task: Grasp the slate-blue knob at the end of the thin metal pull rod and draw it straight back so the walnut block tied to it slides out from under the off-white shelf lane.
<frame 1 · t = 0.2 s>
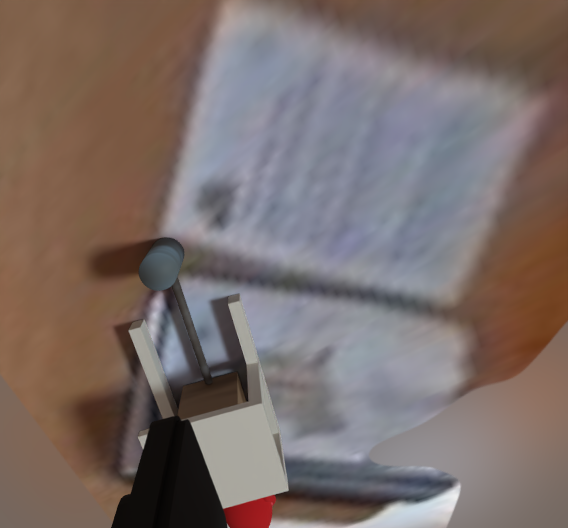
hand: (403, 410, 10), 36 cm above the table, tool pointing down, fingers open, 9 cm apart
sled: (195, 356, 45), point 3 cm above the table, slide at 0.0 cm
cap: (245, 480, 55), on the table
shelf: (208, 374, 50), on the table
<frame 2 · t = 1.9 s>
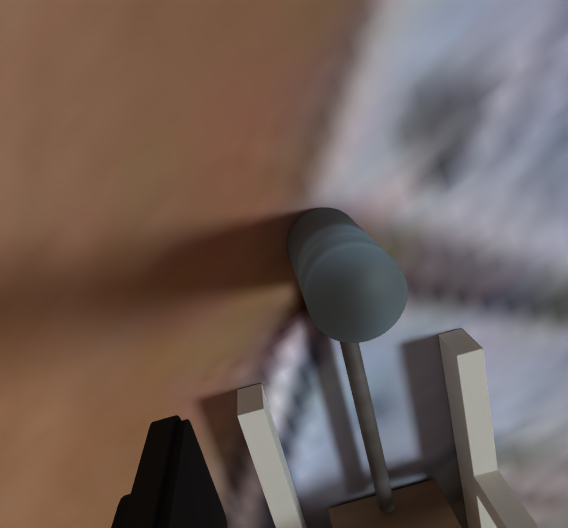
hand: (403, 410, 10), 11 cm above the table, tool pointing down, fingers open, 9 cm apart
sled: (383, 470, 21), point 3 cm above the table, slide at 0.0 cm
shelf: (379, 484, 25), on the table
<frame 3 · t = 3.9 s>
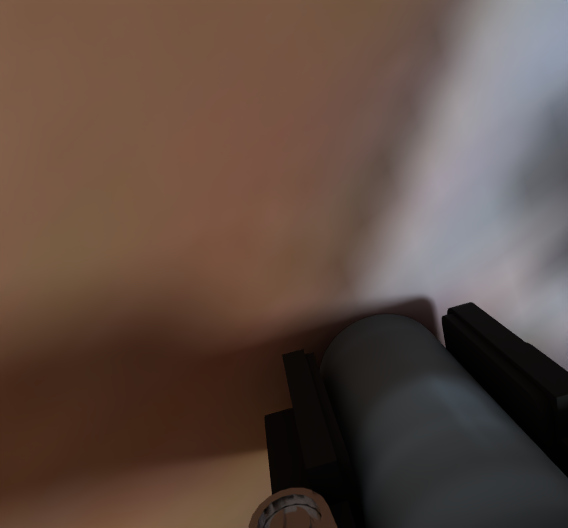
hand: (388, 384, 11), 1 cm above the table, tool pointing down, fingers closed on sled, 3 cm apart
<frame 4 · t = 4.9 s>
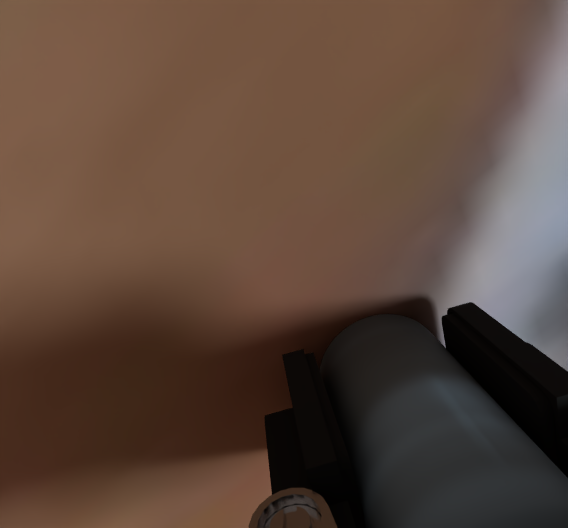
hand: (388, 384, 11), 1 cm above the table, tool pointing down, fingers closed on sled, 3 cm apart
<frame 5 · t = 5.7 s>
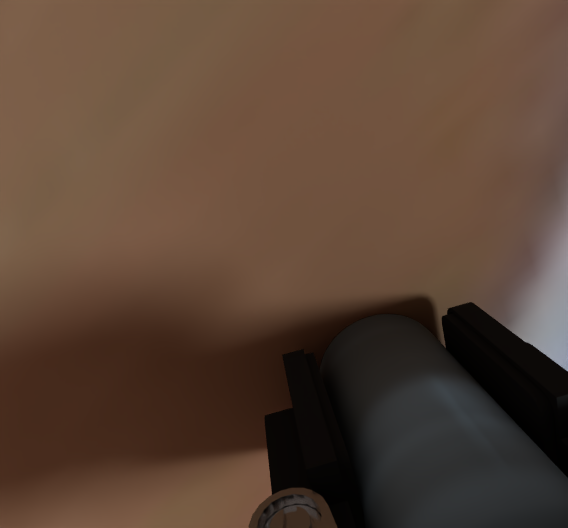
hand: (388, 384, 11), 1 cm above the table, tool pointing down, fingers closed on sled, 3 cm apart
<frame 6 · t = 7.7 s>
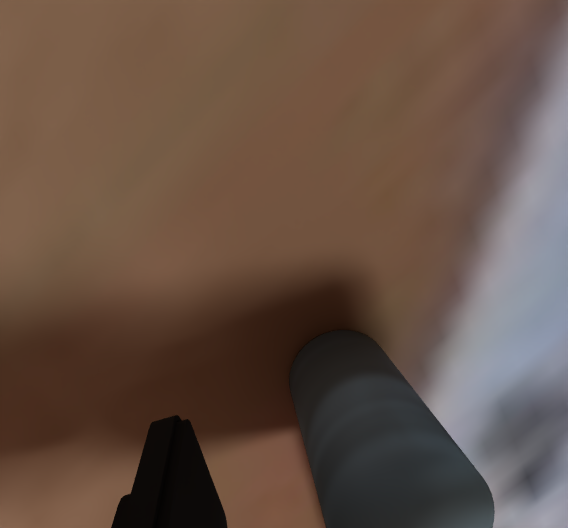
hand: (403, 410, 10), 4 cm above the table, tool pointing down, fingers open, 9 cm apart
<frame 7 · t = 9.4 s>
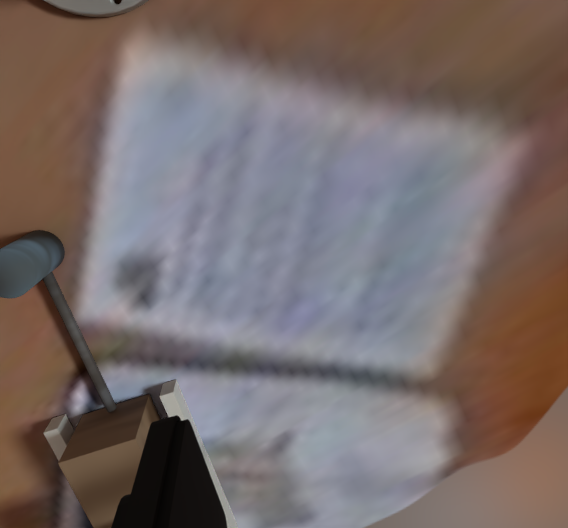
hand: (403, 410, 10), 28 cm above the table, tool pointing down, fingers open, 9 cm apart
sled: (83, 378, 36), point 3 cm above the table, slide at 8.0 cm
shelf: (148, 470, 43), on the table
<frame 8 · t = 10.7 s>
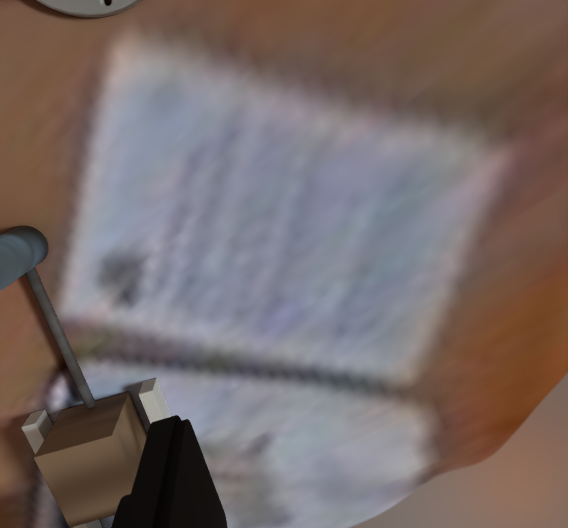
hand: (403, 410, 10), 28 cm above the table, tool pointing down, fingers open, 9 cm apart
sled: (63, 374, 36), point 3 cm above the table, slide at 8.0 cm
shelf: (126, 467, 43), on the table
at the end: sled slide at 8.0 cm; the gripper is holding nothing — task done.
